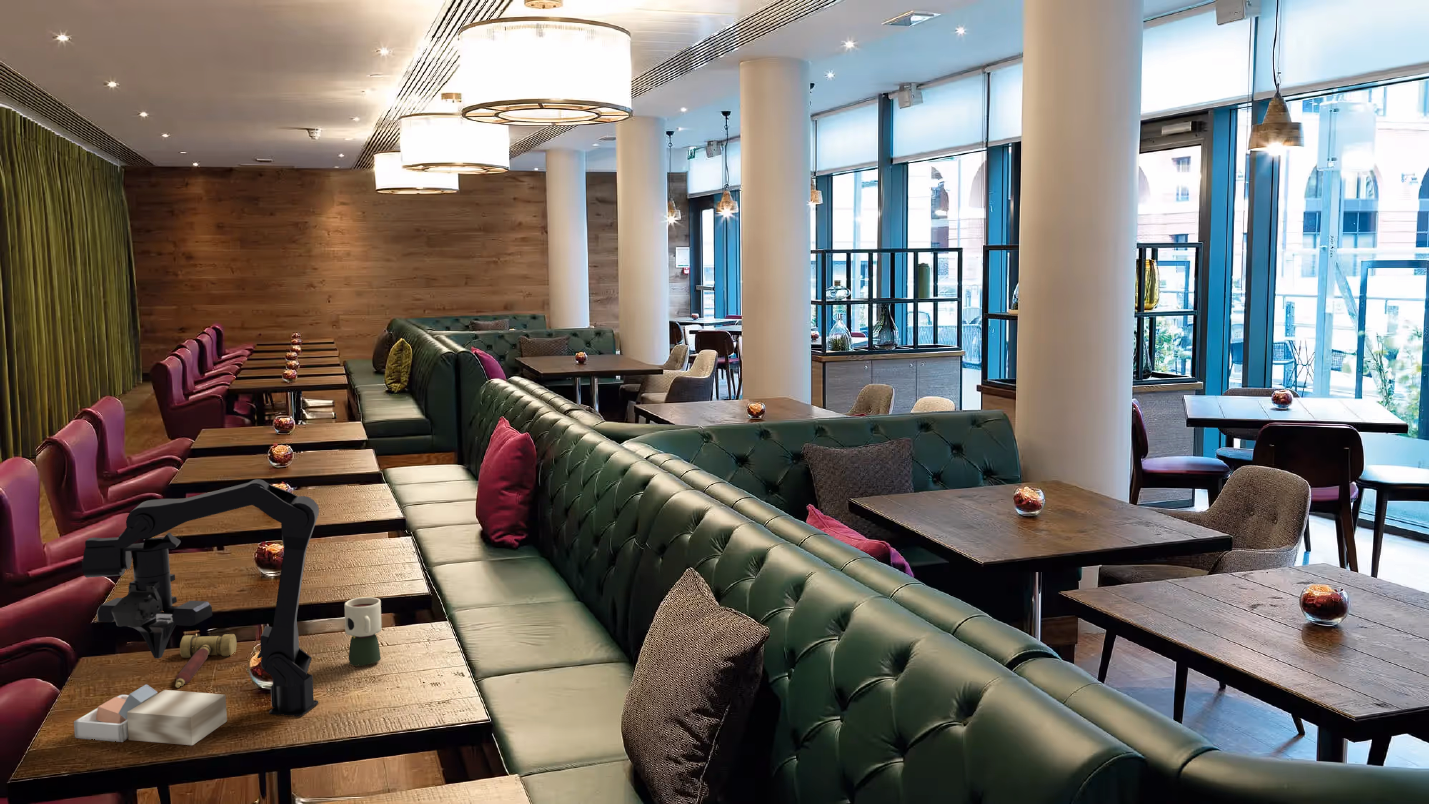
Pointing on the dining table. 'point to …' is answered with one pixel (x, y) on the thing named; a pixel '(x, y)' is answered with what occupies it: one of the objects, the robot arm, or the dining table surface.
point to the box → (100, 728)
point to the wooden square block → (177, 717)
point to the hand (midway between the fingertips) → (158, 657)
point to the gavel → (202, 653)
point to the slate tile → (137, 699)
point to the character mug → (363, 629)
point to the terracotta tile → (111, 711)
